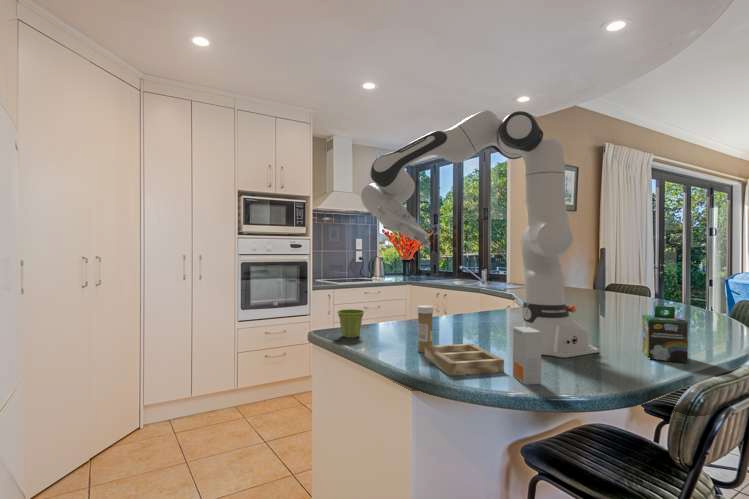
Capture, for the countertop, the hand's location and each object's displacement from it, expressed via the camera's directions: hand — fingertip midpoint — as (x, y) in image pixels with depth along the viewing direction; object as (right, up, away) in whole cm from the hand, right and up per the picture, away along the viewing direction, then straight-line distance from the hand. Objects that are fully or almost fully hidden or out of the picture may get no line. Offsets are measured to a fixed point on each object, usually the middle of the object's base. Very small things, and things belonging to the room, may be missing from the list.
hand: (420, 240), depth 118 cm
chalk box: (+68, -34, -7) cm, 76 cm away
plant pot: (-22, -33, +18) cm, 43 cm away
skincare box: (+22, -33, -26) cm, 48 cm away
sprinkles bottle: (+1, -33, -1) cm, 33 cm away
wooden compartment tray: (+9, -33, -14) cm, 37 cm away
